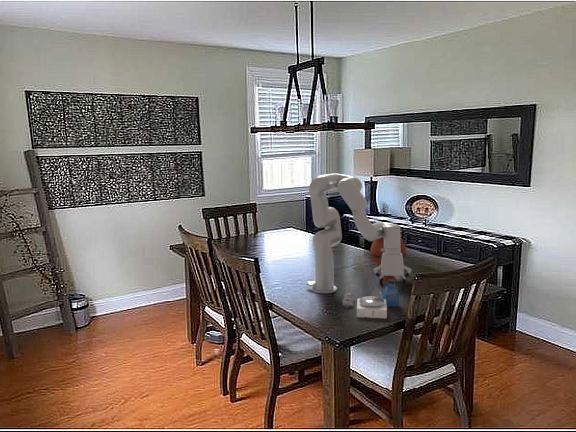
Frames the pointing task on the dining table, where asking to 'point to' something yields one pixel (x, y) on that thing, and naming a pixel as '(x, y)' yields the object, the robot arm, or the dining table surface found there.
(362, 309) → the scale
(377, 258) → the goblet
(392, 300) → the perfume bottle
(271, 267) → the dining table surface
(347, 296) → the ring
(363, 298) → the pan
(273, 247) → the dining table surface
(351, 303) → the spacer
